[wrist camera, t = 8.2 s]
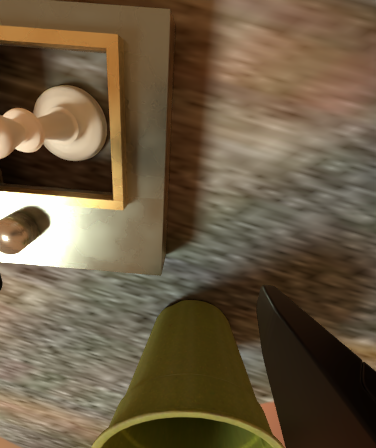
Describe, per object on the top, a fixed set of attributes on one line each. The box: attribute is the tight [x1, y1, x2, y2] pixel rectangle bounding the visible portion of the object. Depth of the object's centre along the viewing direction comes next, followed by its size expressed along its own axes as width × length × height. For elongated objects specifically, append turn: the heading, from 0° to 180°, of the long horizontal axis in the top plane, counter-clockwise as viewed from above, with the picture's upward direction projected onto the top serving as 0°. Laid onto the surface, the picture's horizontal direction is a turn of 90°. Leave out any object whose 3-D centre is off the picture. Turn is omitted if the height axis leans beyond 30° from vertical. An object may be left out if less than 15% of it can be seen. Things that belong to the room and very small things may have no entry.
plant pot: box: [91, 300, 284, 448], centre depth 20 cm, size 12×12×11 cm
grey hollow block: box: [0, 0, 176, 276], centre depth 17 cm, size 14×16×5 cm
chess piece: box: [0, 85, 107, 161], centre depth 14 cm, size 5×5×10 cm
